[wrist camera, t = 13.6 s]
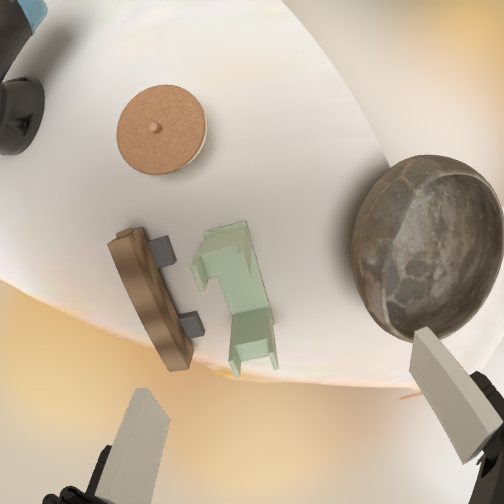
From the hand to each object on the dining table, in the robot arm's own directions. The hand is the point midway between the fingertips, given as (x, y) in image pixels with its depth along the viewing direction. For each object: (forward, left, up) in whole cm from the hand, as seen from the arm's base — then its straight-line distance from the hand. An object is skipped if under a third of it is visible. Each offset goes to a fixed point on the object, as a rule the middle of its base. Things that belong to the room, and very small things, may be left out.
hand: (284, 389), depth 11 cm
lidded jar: (-17, -8, -29) cm, 34 cm away
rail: (+5, -18, -27) cm, 33 cm away
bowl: (+5, +21, -29) cm, 36 cm away
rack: (+6, -5, -29) cm, 30 cm away
